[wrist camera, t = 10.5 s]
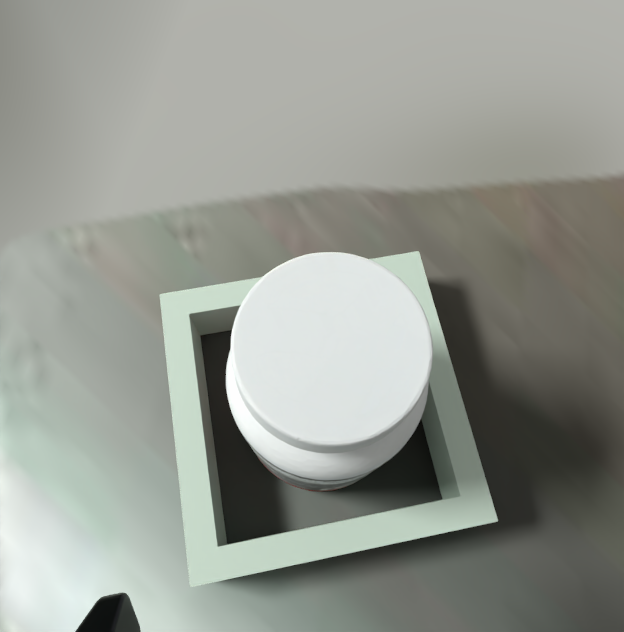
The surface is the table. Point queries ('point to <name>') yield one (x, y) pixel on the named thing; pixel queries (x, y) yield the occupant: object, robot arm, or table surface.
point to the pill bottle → (328, 369)
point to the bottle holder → (326, 539)
